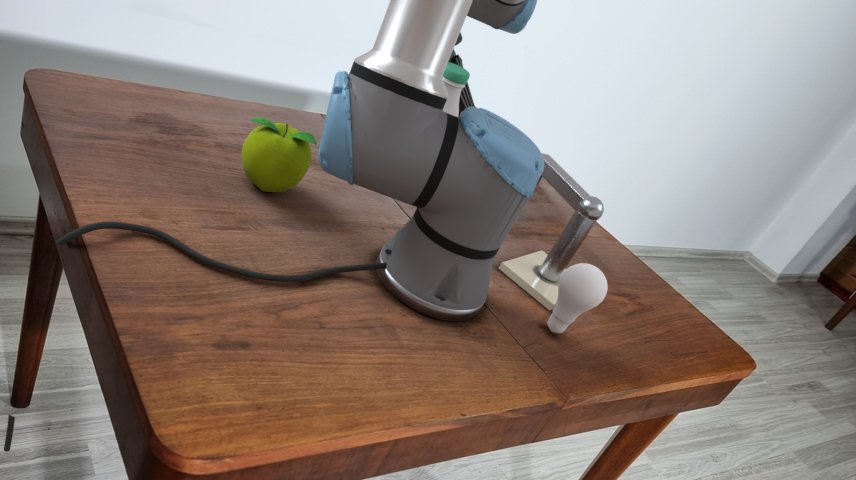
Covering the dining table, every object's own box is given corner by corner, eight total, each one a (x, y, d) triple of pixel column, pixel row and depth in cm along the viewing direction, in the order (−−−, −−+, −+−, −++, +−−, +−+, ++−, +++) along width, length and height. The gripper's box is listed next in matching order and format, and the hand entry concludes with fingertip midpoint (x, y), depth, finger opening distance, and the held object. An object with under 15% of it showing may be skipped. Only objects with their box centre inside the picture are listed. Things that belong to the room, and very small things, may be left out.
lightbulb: (579, 339, 98) (624, 278, 92) (559, 351, 93) (604, 287, 87) (545, 311, 100) (586, 250, 94) (524, 322, 96) (565, 258, 90)
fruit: (286, 213, 96) (309, 149, 90) (224, 184, 96) (243, 118, 91) (306, 188, 104) (329, 128, 98) (249, 161, 104) (268, 99, 98)
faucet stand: (549, 310, 101) (553, 304, 100) (498, 268, 106) (501, 262, 105) (587, 294, 109) (591, 288, 109) (538, 255, 114) (542, 250, 113)
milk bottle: (415, 195, 115) (469, 82, 105) (377, 171, 117) (426, 58, 107) (434, 184, 122) (486, 77, 111) (397, 162, 124) (445, 54, 113)
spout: (563, 283, 106) (613, 207, 99) (545, 281, 105) (595, 204, 97) (512, 222, 117) (554, 150, 110) (495, 219, 116) (537, 146, 108)
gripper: (449, 25, 114) (496, 158, 123) (461, 13, 125) (503, 136, 134) (407, 42, 117) (455, 171, 126) (421, 29, 128) (465, 148, 137)
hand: (480, 153), depth 130 cm, fingers closed
